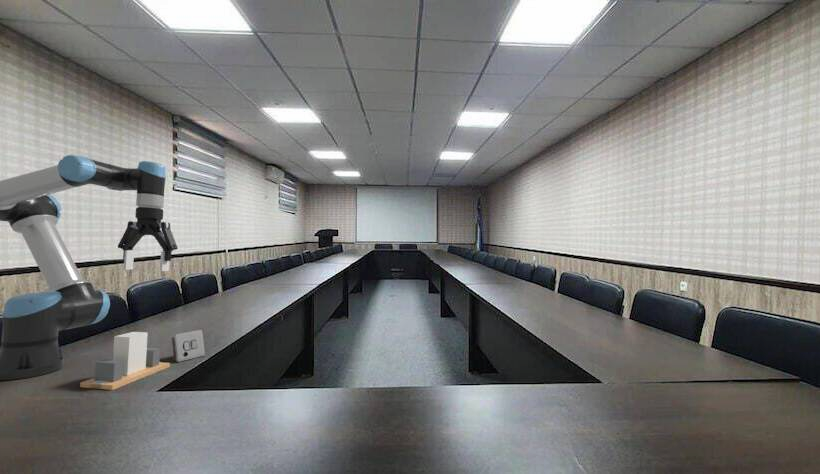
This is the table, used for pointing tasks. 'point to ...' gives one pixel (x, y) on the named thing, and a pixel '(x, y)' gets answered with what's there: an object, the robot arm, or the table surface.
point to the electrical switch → (188, 345)
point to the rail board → (128, 378)
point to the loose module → (131, 351)
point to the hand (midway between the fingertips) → (146, 270)
